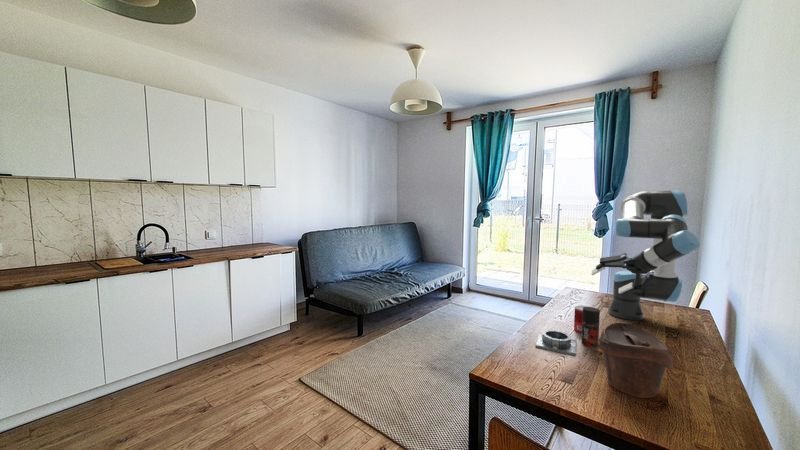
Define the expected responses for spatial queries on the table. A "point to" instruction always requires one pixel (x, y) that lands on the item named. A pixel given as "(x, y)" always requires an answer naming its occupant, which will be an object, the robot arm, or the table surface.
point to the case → (634, 359)
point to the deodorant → (590, 327)
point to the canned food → (578, 318)
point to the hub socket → (556, 342)
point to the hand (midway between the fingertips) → (605, 281)
